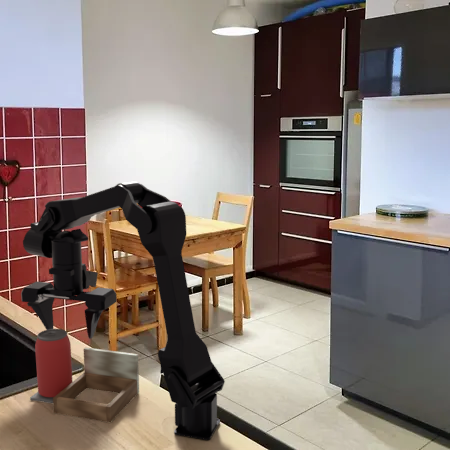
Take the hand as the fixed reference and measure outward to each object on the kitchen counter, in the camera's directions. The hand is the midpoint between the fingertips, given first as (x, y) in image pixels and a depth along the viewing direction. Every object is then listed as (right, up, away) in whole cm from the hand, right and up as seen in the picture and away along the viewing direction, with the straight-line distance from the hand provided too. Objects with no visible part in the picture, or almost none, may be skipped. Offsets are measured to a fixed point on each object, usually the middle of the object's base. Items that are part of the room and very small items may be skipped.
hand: (70, 335), depth 118 cm
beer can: (-2, -10, -5) cm, 12 cm away
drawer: (+7, -11, -8) cm, 16 cm away
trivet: (-2, -11, -5) cm, 12 cm away
